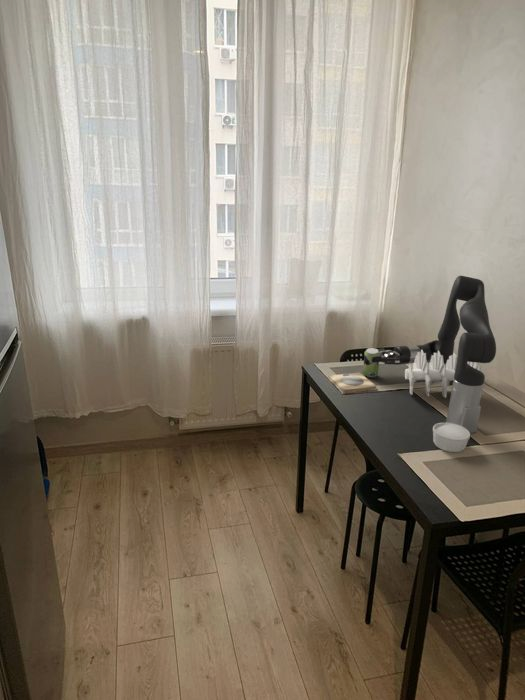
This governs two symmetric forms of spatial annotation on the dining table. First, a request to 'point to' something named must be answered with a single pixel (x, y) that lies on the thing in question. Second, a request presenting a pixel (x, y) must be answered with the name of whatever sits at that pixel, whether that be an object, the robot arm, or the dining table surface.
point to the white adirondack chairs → (433, 370)
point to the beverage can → (370, 363)
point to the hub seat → (351, 382)
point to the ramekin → (450, 437)
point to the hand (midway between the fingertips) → (369, 358)
